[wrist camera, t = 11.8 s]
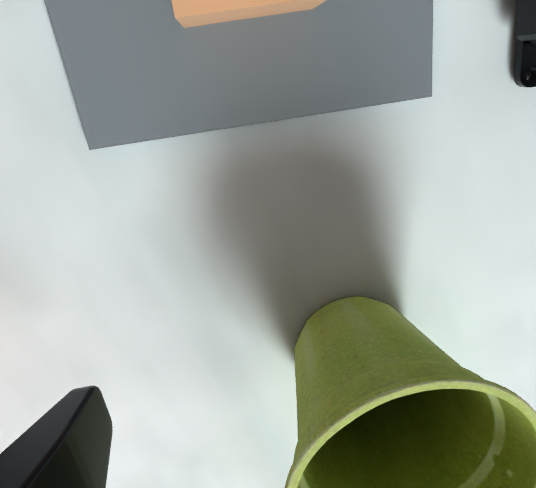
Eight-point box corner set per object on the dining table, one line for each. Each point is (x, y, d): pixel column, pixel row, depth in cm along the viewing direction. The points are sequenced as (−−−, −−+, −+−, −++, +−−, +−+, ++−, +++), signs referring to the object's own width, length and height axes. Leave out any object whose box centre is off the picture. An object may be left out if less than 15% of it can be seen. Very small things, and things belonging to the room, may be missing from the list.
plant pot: (229, 315, 21) (235, 465, 13) (403, 231, 20) (521, 336, 12) (305, 436, 25) (346, 610, 17) (456, 368, 24) (573, 517, 16)
